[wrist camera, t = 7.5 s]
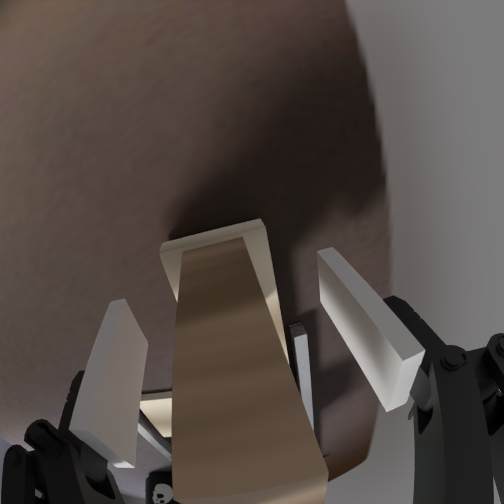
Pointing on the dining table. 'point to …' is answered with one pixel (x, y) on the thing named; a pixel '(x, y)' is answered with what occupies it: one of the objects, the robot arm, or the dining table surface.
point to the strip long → (235, 378)
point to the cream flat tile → (158, 410)
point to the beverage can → (160, 489)
